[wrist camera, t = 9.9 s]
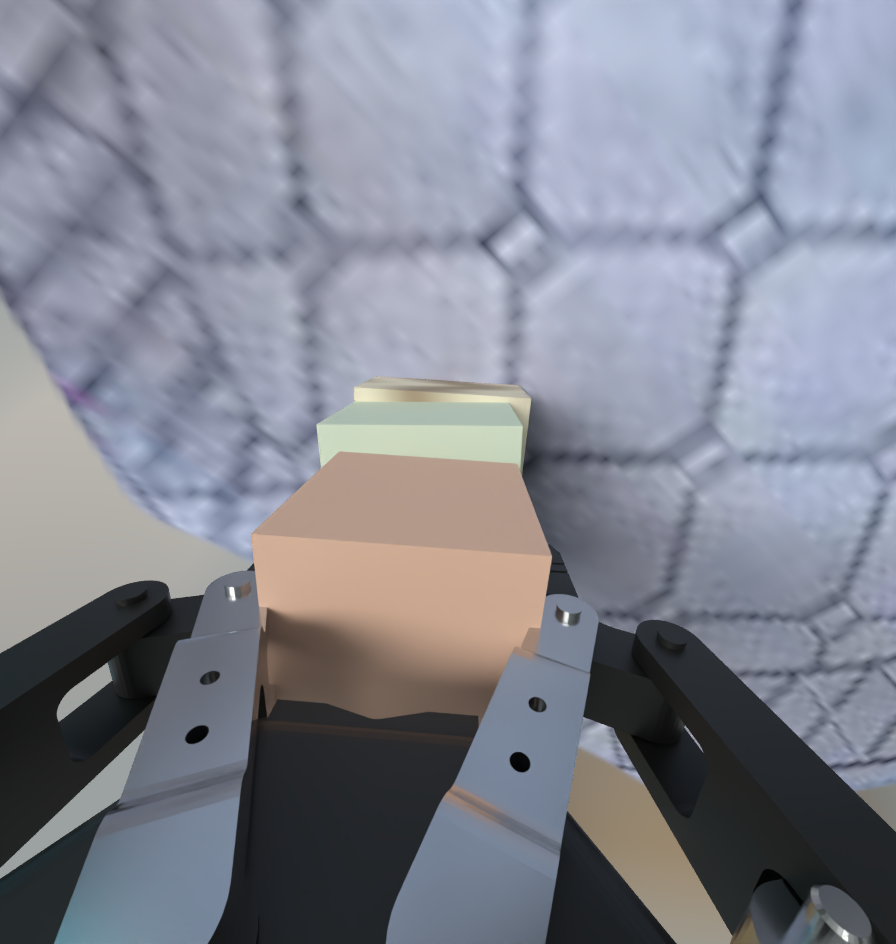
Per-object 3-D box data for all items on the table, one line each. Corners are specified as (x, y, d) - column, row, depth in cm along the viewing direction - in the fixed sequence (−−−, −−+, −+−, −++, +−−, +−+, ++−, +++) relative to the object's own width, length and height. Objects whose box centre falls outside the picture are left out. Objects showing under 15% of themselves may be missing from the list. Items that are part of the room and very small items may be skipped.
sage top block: (508, 402, 18) (522, 425, 14) (502, 541, 21) (512, 603, 16) (354, 401, 19) (316, 424, 14) (364, 538, 21) (334, 598, 16)
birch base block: (518, 385, 23) (531, 398, 18) (503, 514, 26) (512, 555, 21) (376, 376, 23) (353, 387, 19) (376, 505, 26) (356, 544, 21)
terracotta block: (517, 463, 13) (552, 556, 7) (499, 612, 14) (517, 771, 9) (339, 451, 13) (251, 533, 8) (343, 600, 15) (274, 750, 9)
